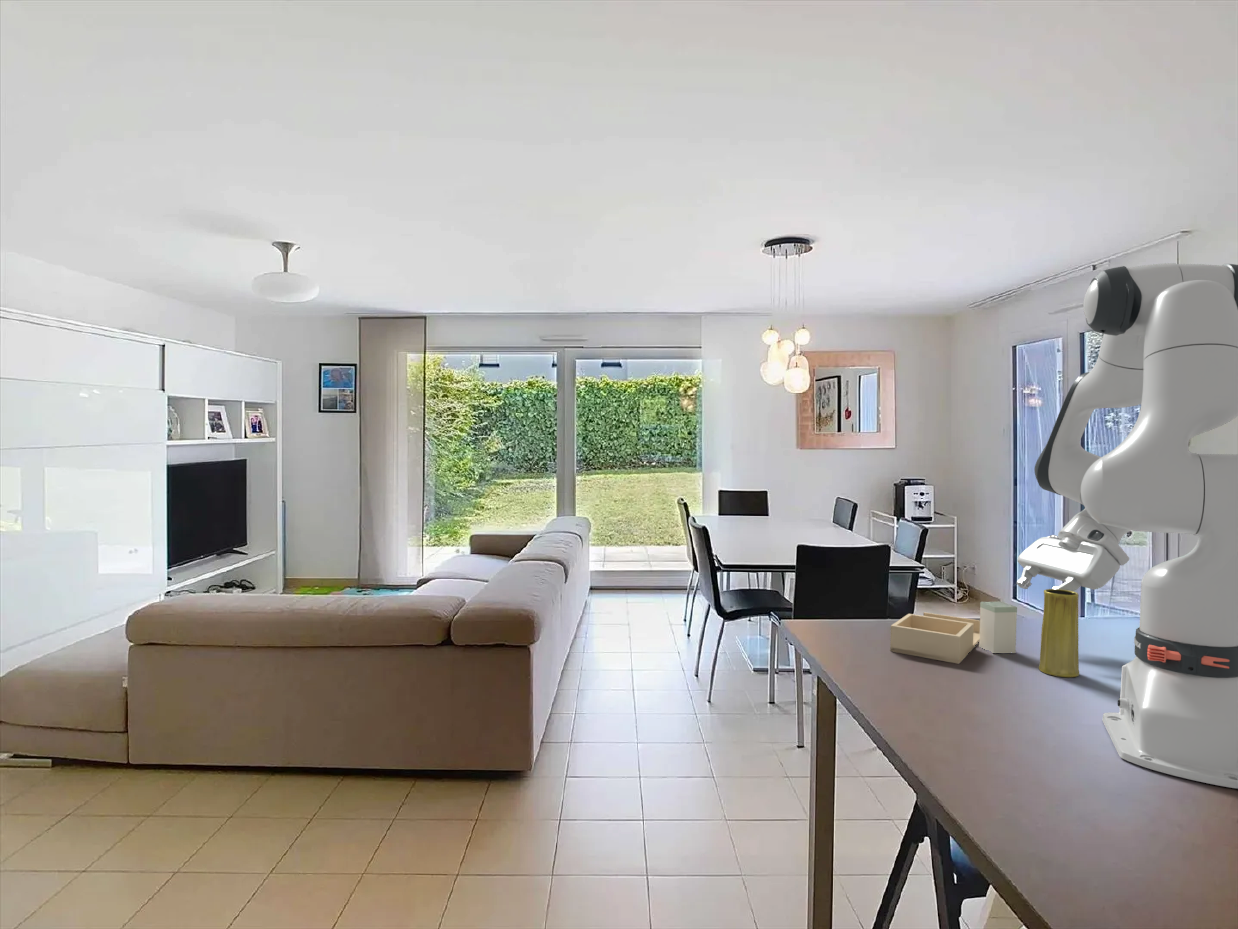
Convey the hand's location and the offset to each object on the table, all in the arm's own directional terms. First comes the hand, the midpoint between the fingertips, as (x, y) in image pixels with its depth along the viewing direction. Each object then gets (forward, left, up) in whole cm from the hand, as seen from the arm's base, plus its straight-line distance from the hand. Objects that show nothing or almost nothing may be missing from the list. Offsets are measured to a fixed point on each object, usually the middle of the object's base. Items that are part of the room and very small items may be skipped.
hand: (1036, 591), depth 138 cm
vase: (-13, -5, -12) cm, 18 cm away
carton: (-5, +6, -11) cm, 14 cm away
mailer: (-7, +16, -11) cm, 21 cm away
